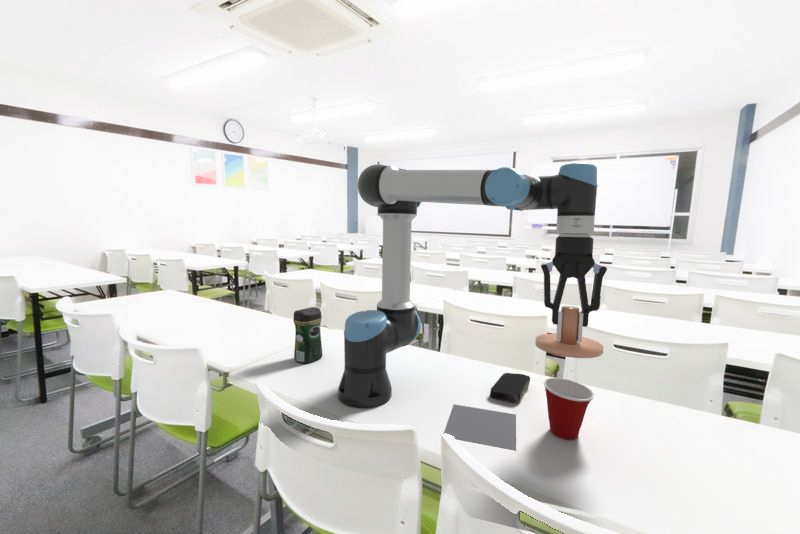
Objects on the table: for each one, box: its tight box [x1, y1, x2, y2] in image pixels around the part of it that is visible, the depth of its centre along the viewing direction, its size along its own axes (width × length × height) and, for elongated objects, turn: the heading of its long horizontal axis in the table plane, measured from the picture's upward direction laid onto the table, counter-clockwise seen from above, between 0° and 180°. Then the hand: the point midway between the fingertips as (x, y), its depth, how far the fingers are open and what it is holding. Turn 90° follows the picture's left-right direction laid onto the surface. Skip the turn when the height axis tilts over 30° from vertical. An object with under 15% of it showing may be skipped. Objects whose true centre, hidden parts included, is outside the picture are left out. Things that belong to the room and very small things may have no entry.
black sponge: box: [489, 372, 531, 404], centre depth 108 cm, size 16×8×4 cm, turn 149°
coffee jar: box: [292, 306, 323, 364], centre depth 130 cm, size 10×8×19 cm
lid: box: [534, 305, 604, 359], centre depth 83 cm, size 14×14×9 cm
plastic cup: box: [543, 377, 595, 441], centre depth 85 cm, size 11×11×12 cm
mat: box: [443, 404, 517, 452], centre depth 89 cm, size 16×16×1 cm
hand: (568, 339), depth 83 cm, fingers closed on lid, 3 cm apart
